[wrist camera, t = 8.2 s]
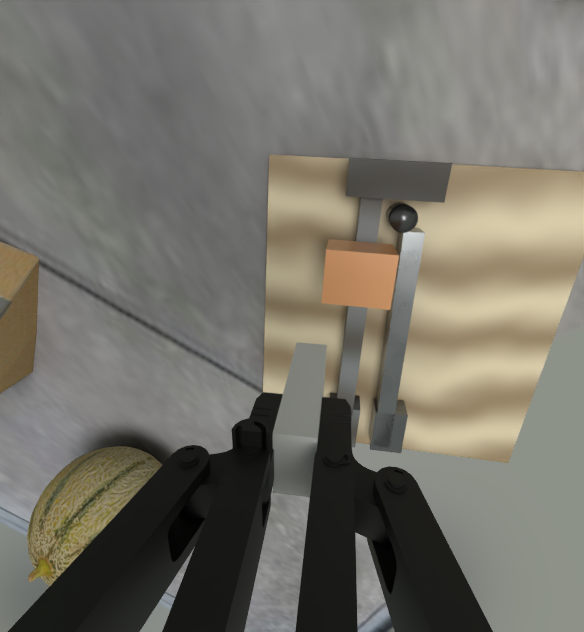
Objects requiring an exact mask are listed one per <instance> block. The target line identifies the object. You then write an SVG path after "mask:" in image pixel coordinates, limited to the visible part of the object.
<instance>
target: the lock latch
mask: <svg viewBox="0 0 584 632" xmlns="http://www.w3.org/2000/svg"><path fill="white" fill-rule="evenodd" d="M398 260H399V254H398V253H397V251H396V249H395V248H394V246H393V244H384V243H371V242H358V241H345V240H332V239H329V240H328V244H327V248H326V257H325V268H324V279H323V290H322V301H321V303H325V304H335V305H345V306H356V307H366V308H376V309H387V310H390V308H391V302H392V296H393V290H394V284H395V278H396V272H397V266H398Z"/></svg>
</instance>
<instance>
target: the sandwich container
mask: <svg viewBox="0 0 584 632" xmlns="http://www.w3.org/2000/svg"><path fill="white" fill-rule="evenodd" d="M38 274H39V258H38V257H36V256H34V255H32V254H29V253H27V252H24V251H22V250H20V249H17V248H15V247H12V246H10V245H8V244H5V243H3V242H0V393H2V392H3V391H5V390H6V389H8V388H9V387H11V386H12V385H14V384H15V383H17V382H18V381H20V380H21V379H23V378H24V377H26V376H27V375H29V374H30V373H32V371H33V363H34V353H35V342H36V332H37V303H38Z"/></svg>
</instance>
